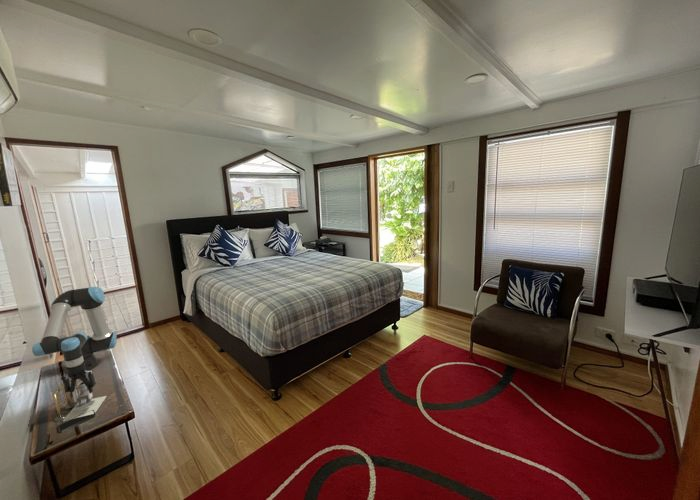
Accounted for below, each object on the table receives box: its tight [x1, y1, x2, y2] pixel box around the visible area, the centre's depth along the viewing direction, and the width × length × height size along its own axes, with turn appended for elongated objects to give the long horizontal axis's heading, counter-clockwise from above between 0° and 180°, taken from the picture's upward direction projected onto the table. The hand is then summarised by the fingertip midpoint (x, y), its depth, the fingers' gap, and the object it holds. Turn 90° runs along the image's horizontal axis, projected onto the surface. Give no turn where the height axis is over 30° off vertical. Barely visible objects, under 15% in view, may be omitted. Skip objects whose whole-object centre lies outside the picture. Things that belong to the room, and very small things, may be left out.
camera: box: [71, 380, 95, 412], centre depth 166 cm, size 9×12×15 cm
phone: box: [57, 410, 97, 434], centre depth 159 cm, size 8×1×15 cm
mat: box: [62, 395, 107, 423], centre depth 168 cm, size 16×14×1 cm
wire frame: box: [52, 382, 77, 422], centre depth 164 cm, size 15×5×16 cm, turn 20°
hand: (83, 399), depth 167 cm, fingers closed on camera, 6 cm apart
